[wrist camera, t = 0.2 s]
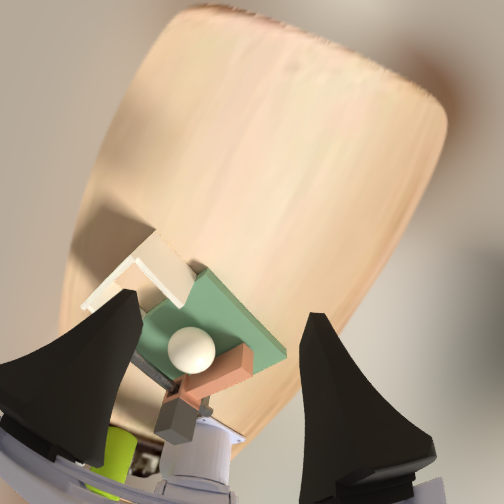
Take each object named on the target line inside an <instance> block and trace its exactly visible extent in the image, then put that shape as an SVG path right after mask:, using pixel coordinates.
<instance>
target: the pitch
mask: <svg viewBox="0 0 504 504" xmlns="http://www.w3.org/2000/svg"><path fill="white" fill-rule="evenodd" d="M143 324H144V325H143V329H142V331H143V333H142V335H141V337H140V338H139V342H138V345H137V347H136V350H137V351H138V352H139V353H141V354H142V355H143V356H144V357H145V358H146V359H148V360H149V361H150V362H151V363H152V364H153V365H155V366H156V367H157V368H158V369H160V370H161V371H162V372H163V373H164V374H166V375H167V376H168V377H170V378H171V379H172V380H173V379H176V378H178V377H180V376H182V375H184V374H186V373H185V372H183V371H181V370H179V369H177V368H176V367H175V366H174V365H173V364H172V362H171V360H170V358H169V355H168V343H169V340H170V338H171V337H172V335H173V334H174V333H175V332H177V331H178V330H180V329H182V328H185V327H196V328H199V329H202V330H204V331H205V332H206V333H208V335H209V336H210V337H211V338H212V340H213V342H214V345H215V357H214V358H216V357H218V356H220V355H222V354H223V353H225V352H227V351H229V350H231V349H233V348H235V347H236V346H238V345H240V344H242V343H245V344H246V345H247V346H248V347H249V348H250V349H251V350H252V351H253V352H254V356H253V375H254V374H256V373H258V372H260V371H262V370H264V369H266V368H268V367H270V366H272V365H274V364H276V363H278V362H280V361H282V360H284V359H286V358H287V353H286V349H285V348H284V347H283V346H282V345H281V344H280V343H279V342H278V341H277V340H276V339H275V338H274V337H273V336H272V334H271V333H270V332H269V331H268V330H267V329H266V328H265V327H264V326H263V325H262V324H261V323H260V322H259V321H258V320H257V319H256V318H255V317H254V316H253V315H252V314H251V313H250V312H249V311H248V310H247V309H246V308H245V307H244V306H243V305H242V303H241V302H240V301H239V300H238V299H237V298H236V297H235V296H234V295H233V294H232V293H231V292H230V291H229V290H228V289H227V288H226V286H225V285H224V284H223V283H222V282H221V281H220V280H219V279H218V278H217V277H216V276H215V275H214V273H213V272H212V271H211V270H210V269H209V268H206V269H205V270H204V271H202V272H201V273H200V274H198V275H197V277H196V279H195V282H194V284H193V286H192V288H191V291H190V293H189V295H188V298H187V300H186V302H185V305H184V306H183V307H181V308H180V309H179V308H178V307H177V306H176V305H175V304H174V303H173V302H172V301H171V300H170V299H169V298H166V299H165V300H164V301H162V302H161V303H160V304H158V305H157V306H156V307H154V308H153V309H152V310H150V311H149V312H148V313H147V314H146V315H145V317H144V319H143ZM187 374H188V375H189V376H190V375H191V374H190V373H187Z"/></svg>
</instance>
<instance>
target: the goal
mask: <svg viewBox="0 0 504 504" xmlns="http://www.w3.org/2000/svg"><path fill="white" fill-rule="evenodd" d="M133 262H135V263H136V265H137V266H138V267H139V268H140V269H141V270H142V271H143V272H144V273H145V274H146V275H147V277H148V278H149V279H150V280H151V281H152V282H153V283H154V284H155V285H156V286H157V287H158V288H159V289H160V290H161V291H162V292H163V293H164V294H165V295H166V296H167V297H168V298H169V299H170V300H171V301H172V302H173V303H174V304H175V305H176V306H177V307H178V308H179V309H180V308H181V307H183V306H184V305H185V302H186V300H187V298H188V295H189V293H190V291H191V288H192V286H193V284H194V282H195V279H196V277H197V274H196V273H195V272H194V271H193V270H192V269H191V268H190V267H189V266H188V265H187V264H186V262H185V261H184V260H183V259H182V258H181V257H180V256H179V255H178V254H177V253H176V251H175V250H174V249H173V248H172V247H171V246H170V245H169V244H168V242H167V241H166V240H165V239H164V238H163V237H162V236H161V235H160V233H159V232H158V231H157V230H155V231H154V232H153V233H152V234H151V235H150V236H149V237H148V238H147V239H146V240H145V241H144V242H143V243H142V244H141V245H140V246H138V247H137V248H136V249H135V250H134V251H133V252H132V253H131V254H130V255H129V256H128V257H127V258H126V259H125V260H124V261H123V262H122V263H121V264H120V265H119V266H118V267H117V268H116V269H115V270H114V271H113V272H112V273H111V274H110V275H109V276H108V277H107V278H106V279H105V280H104V282H103V283H102V284H101V285H100V286H99V287H98V288H97V289H96V290H95V291H94V292H93V293H92V294H91V295H90V296H89V298H88V299H87V300H86V301H85V302H84V303H83V304H82V305H81V306H80V307H81V308H82V310H83V311H85V310H86V309H87V308H88V309H89V310H90V312H91V313H92V314H93V313H94V312H95V311H96V310H98V309H99V308H100V307H101V306H103V305H104V304H105V303H106V302H107V301H109V300H110V299H111V298H112V297H114V296H115V295H116V294H117V293H119V292H120V291H121V290H123V289H122V288H121V287H120V286H119V285H118V284H117V282H116V281H115V279H116V278H118V277H119V276H120V275H121V274H122V273H123V272H124V271H125V270H126V269H127V268H128V267H129V266H130V265H131V264H132V263H133ZM139 307H140V306H139ZM140 311H141V316H142V320H143V319H144V317H145V315H146V314H147V313H146V312H145V311H144V310H143V309H142V308H141V307H140Z"/></svg>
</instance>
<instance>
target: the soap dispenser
mask: <svg viewBox="0 0 504 504" xmlns="http://www.w3.org/2000/svg"><path fill="white" fill-rule="evenodd" d="M136 445H137V439H136V438H135V437H134V436H133V435H132V434H130V433H129V432H127V431H125V430H123V429H121V428H118V427H114V426H109V427H108V433H107V439H106V447H105V456H104V466H102V467H100V468H95V467H93V466H91V469H90V471H92V472H95V473H97V474H99V475H102V476H104V477H107V478H109V479H112V480H115V481H117V482H120V483H123V484H124V482H125V479H126V476H127V472H128V469H129V466H130V463H131V460H132V457H133V454H134V451H135V448H136ZM85 485H86V487H87V488H88V489H90V490H91V492H93V493H96V494H98V495H101V496H103V497H106V498H108V499H111V500H117V501H119V499H120V497H117V496H114V495H112V494H109V493H107V492H104V491H102V490H99V489H97V488H95V487H92V486H90V485H88V484H86V483H85Z"/></svg>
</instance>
